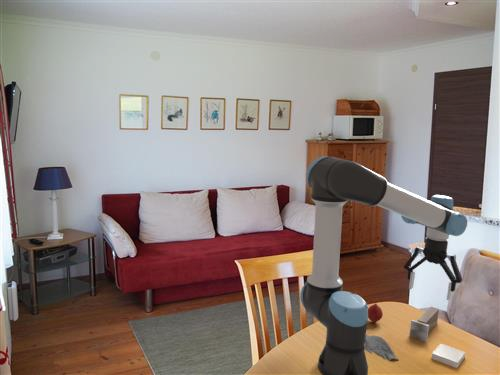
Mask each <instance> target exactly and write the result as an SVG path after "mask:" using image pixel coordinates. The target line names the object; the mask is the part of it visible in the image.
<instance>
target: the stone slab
mask: <svg viewBox="0 0 500 375" xmlns="http://www.w3.org/2000/svg"><path fill="white" fill-rule="evenodd" d="M364 351H366V352H367V353H369V354H373V353H374V354H375V355H376V356H379V357H381V358H383V360H386V361H391V360H396V361H399V359H398V358H397V355H396V354H395V352H394V351H393V350H392V348H391V346H389V344H388V342H387V340H385V338H383V337H381V336H378V335H368V334H366V337H365V346H364Z"/></svg>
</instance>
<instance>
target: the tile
mask: <svg viewBox="0 0 500 375" xmlns="http://www.w3.org/2000/svg"><path fill="white" fill-rule="evenodd" d="M465 357H466V352H465V351H463V350H461V349H457V348H454V347H452V346H449V345H446V344H443V343H440V344H439V345H438V346H437V347H436V348H435V349H434V350H433V351H432V353H431V360H434V361H437V362H439V363H442V364H445V365H448V366H450V367H452V368H455V369H457V368H458V367H459V366H460V364H461V363H462V362H463V360H464V359H465Z"/></svg>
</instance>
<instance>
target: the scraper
mask: <svg viewBox="0 0 500 375" xmlns="http://www.w3.org/2000/svg"><path fill="white" fill-rule="evenodd" d="M439 310H440V309H439V308H437V307H433V306H430V307H429V308H428V309H427V310H426V311H425V312H424V313H422V315H421V316H420V317H419V318H418V319H417V320H415V319H411V322H410V329H409V337H412V338H415V339H418V340H420V341H423V342H428V338H429V334H430V332H431V331H432V330H433V329H434V328H435V326H436V325H437V324H438V320H439Z"/></svg>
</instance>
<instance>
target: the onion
mask: <svg viewBox="0 0 500 375" xmlns="http://www.w3.org/2000/svg"><path fill="white" fill-rule="evenodd" d="M383 314H384V313H383V310H382V308H381V307H380V306H379V305H378V303H374V304H372V305H370V306H368V320H369V321H371V322H372V323H373V324H376V323H377V322H379V321H380V320H381V319H382V317H383Z"/></svg>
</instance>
